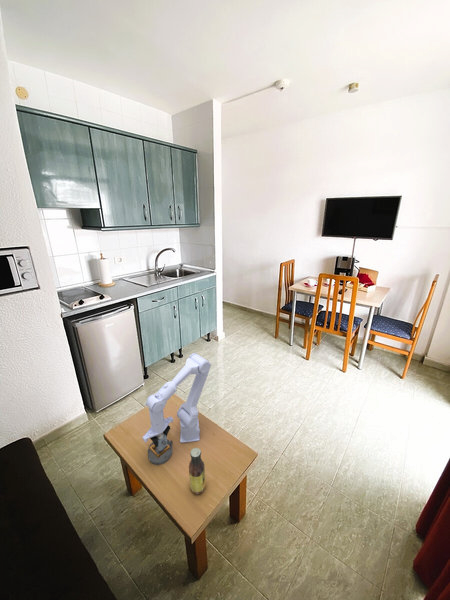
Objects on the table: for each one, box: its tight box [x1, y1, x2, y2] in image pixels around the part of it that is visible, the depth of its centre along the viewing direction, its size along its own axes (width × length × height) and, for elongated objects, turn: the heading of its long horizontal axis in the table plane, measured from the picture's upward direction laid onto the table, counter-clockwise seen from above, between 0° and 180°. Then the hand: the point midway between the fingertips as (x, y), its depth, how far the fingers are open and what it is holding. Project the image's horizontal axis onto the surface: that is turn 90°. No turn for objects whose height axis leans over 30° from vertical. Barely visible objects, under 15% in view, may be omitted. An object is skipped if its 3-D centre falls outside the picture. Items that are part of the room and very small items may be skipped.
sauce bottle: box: [188, 447, 206, 495], centre depth 97 cm, size 7×6×20 cm
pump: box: [156, 432, 168, 451], centre depth 109 cm, size 4×5×7 cm
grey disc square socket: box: [147, 438, 173, 466], centre depth 114 cm, size 12×11×4 cm
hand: (160, 442), depth 111 cm, fingers closed on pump, 4 cm apart
